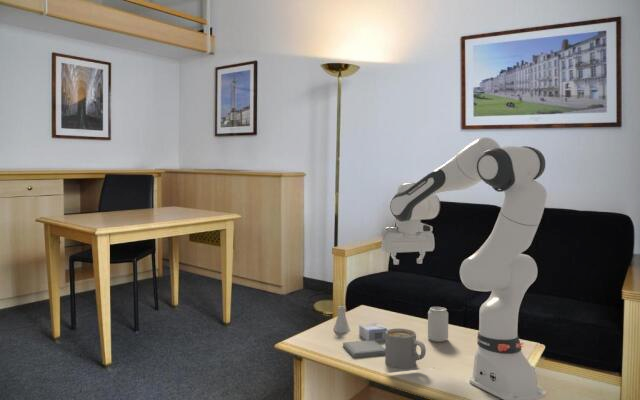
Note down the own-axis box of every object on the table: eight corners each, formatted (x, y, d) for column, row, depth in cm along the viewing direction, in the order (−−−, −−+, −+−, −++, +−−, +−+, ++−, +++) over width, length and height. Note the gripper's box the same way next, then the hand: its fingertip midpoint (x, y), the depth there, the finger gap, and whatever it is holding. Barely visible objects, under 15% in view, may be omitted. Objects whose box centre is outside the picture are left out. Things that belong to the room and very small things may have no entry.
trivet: (387, 354, 174) (387, 350, 173) (354, 357, 170) (354, 353, 170) (374, 343, 185) (374, 339, 185) (343, 346, 182) (343, 342, 182)
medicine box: (368, 331, 186) (358, 324, 194) (368, 342, 186) (358, 336, 194) (387, 328, 189) (377, 322, 197) (387, 340, 189) (377, 333, 197)
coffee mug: (379, 362, 166) (379, 332, 165) (397, 355, 173) (397, 326, 172) (413, 373, 156) (413, 341, 156) (430, 365, 163) (431, 334, 163)
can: (446, 337, 193) (446, 306, 193) (449, 343, 186) (449, 310, 185) (426, 336, 194) (426, 305, 194) (428, 342, 187) (429, 310, 186)
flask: (349, 335, 195) (349, 310, 195) (331, 334, 197) (331, 309, 196) (351, 330, 202) (351, 305, 202) (334, 329, 204) (334, 304, 203)
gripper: (385, 228, 180) (385, 266, 181) (436, 226, 186) (436, 264, 186) (378, 226, 186) (378, 263, 187) (428, 225, 192) (428, 261, 192)
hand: (407, 264), depth 187 cm, fingers open, 8 cm apart
